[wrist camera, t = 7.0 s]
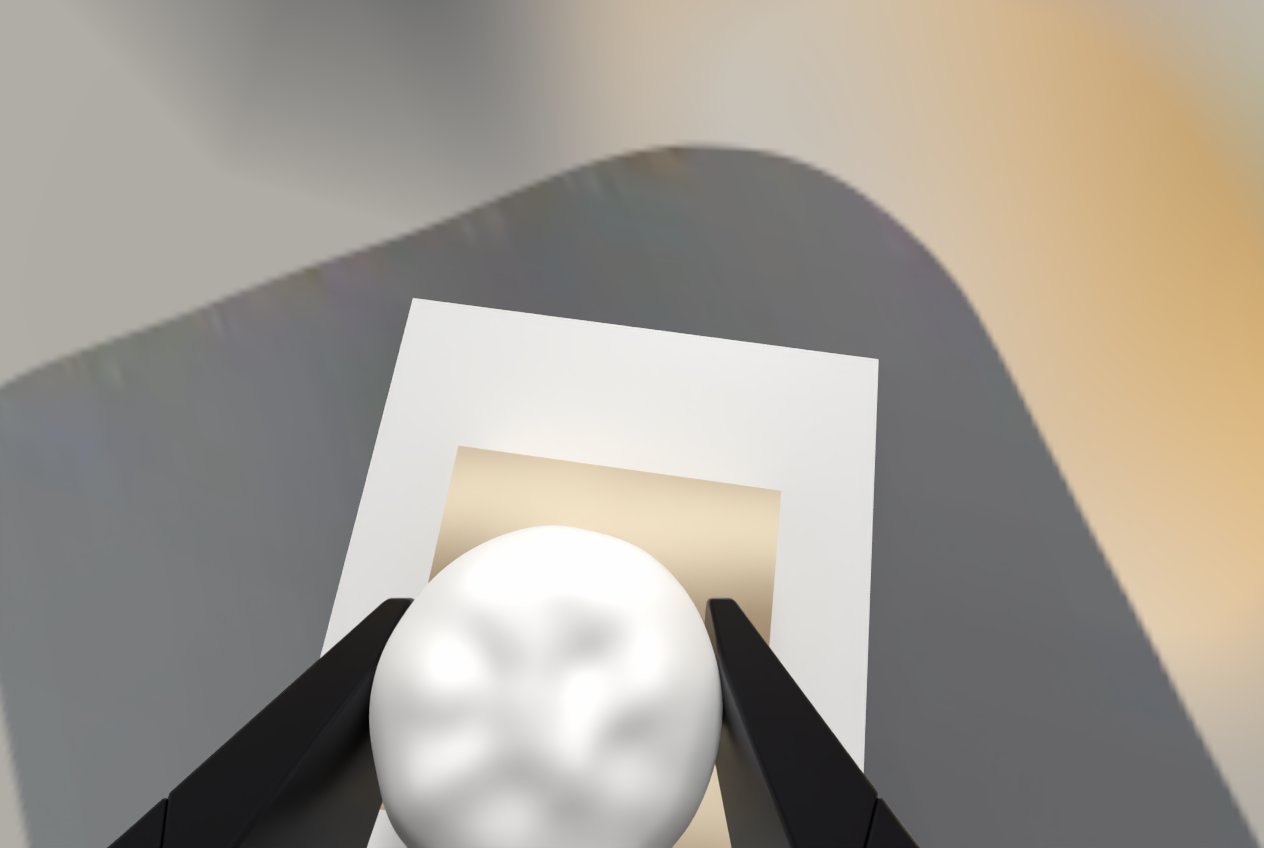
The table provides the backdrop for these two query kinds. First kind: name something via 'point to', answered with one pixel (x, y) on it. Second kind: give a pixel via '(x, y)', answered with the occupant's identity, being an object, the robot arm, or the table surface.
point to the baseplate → (636, 462)
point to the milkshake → (547, 700)
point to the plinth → (629, 540)
